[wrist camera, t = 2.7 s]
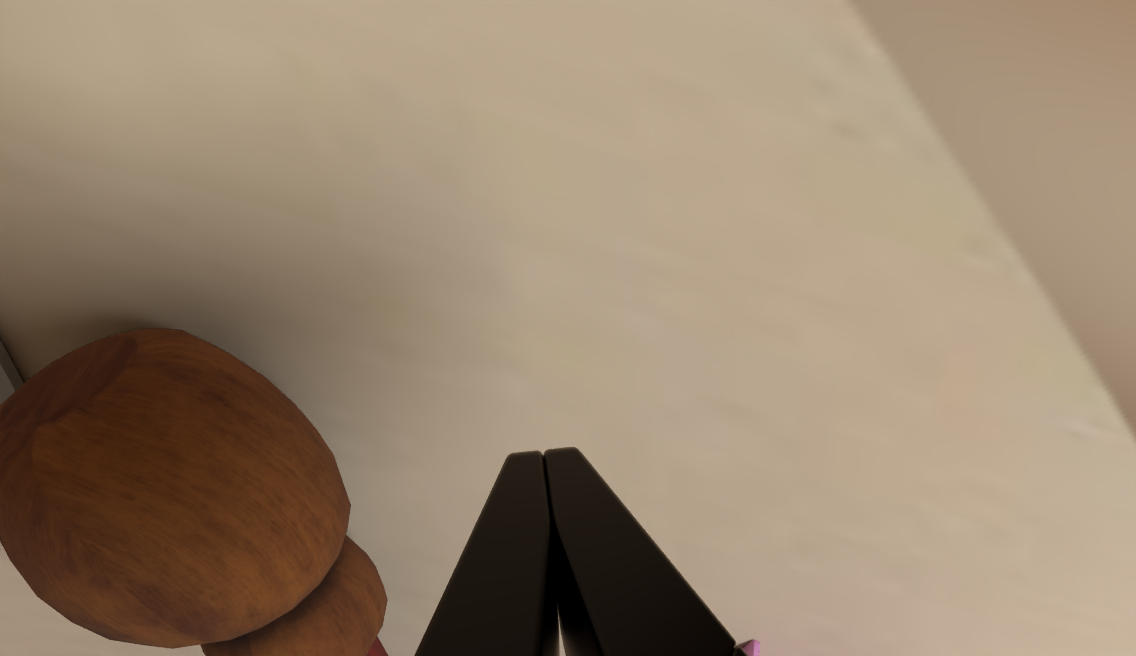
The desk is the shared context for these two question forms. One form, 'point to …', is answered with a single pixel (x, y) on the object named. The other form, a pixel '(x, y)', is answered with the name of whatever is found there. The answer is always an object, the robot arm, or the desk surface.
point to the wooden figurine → (182, 504)
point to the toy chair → (752, 648)
